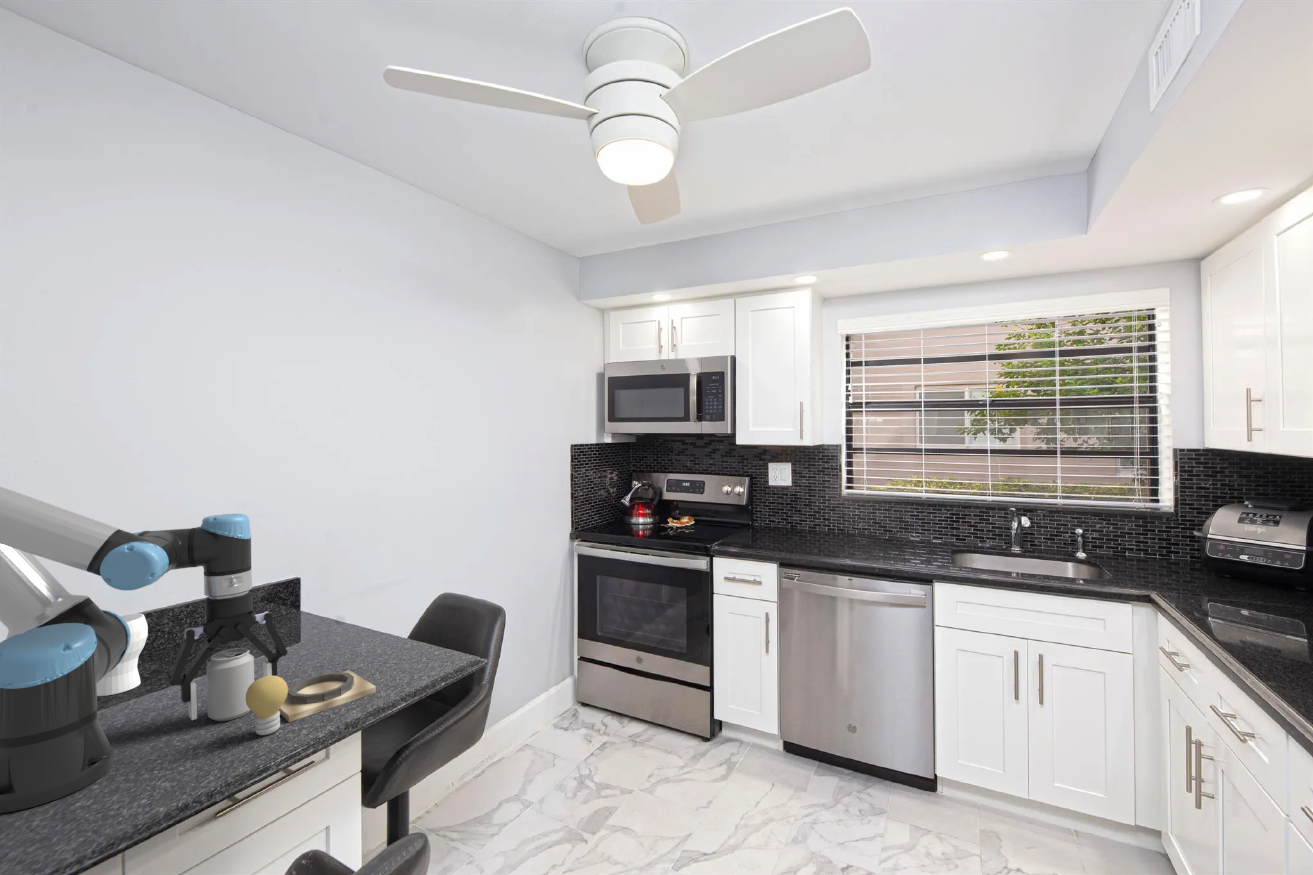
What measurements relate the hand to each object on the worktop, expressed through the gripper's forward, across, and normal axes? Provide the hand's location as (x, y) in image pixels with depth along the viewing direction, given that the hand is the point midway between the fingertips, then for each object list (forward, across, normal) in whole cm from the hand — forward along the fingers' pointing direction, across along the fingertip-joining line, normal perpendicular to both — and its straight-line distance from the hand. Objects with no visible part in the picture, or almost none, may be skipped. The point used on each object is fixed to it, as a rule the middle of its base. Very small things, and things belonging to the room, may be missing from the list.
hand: (232, 705), depth 113 cm
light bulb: (+2, +2, -14) cm, 14 cm away
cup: (+2, -13, +35) cm, 37 cm away
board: (+2, +14, -6) cm, 15 cm away
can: (+2, 0, 0) cm, 2 cm away
